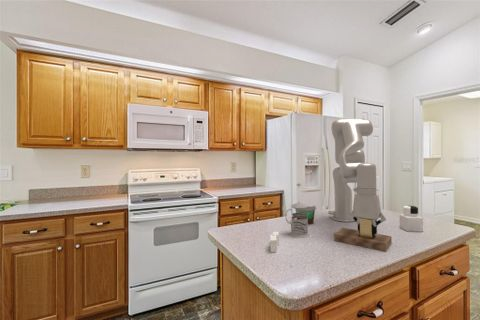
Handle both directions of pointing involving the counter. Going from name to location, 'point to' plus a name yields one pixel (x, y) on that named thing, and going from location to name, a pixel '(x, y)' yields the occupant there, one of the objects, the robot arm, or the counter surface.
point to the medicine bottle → (411, 219)
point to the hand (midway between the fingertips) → (367, 233)
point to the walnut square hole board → (363, 239)
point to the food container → (307, 213)
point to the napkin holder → (274, 241)
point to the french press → (299, 221)
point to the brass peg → (366, 228)
